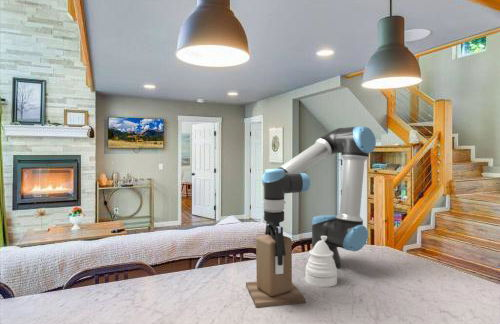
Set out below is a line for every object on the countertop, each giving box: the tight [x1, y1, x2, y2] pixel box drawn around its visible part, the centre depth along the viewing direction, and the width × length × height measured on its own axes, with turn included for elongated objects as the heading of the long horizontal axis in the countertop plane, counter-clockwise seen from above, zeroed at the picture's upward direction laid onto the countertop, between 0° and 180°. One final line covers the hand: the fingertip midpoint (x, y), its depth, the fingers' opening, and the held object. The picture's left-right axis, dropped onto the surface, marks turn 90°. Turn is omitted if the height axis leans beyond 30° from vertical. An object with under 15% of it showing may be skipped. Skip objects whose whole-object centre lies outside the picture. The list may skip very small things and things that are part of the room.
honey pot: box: [304, 236, 338, 288], centre depth 133 cm, size 13×13×18 cm
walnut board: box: [245, 281, 307, 308], centre depth 121 cm, size 18×18×2 cm
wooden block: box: [255, 234, 293, 296], centre depth 120 cm, size 10×10×20 cm
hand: (274, 267), depth 120 cm, fingers open, 13 cm apart
